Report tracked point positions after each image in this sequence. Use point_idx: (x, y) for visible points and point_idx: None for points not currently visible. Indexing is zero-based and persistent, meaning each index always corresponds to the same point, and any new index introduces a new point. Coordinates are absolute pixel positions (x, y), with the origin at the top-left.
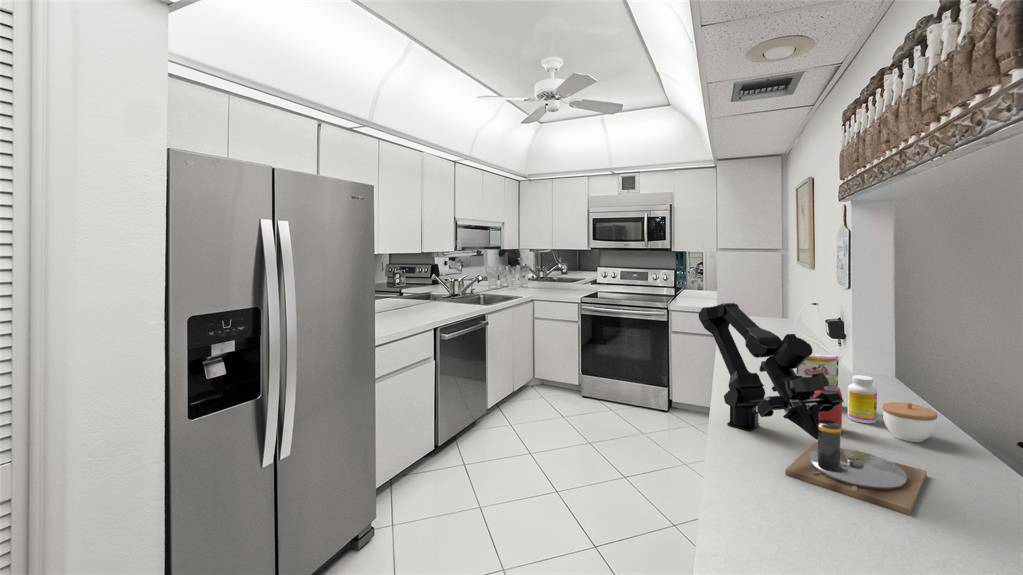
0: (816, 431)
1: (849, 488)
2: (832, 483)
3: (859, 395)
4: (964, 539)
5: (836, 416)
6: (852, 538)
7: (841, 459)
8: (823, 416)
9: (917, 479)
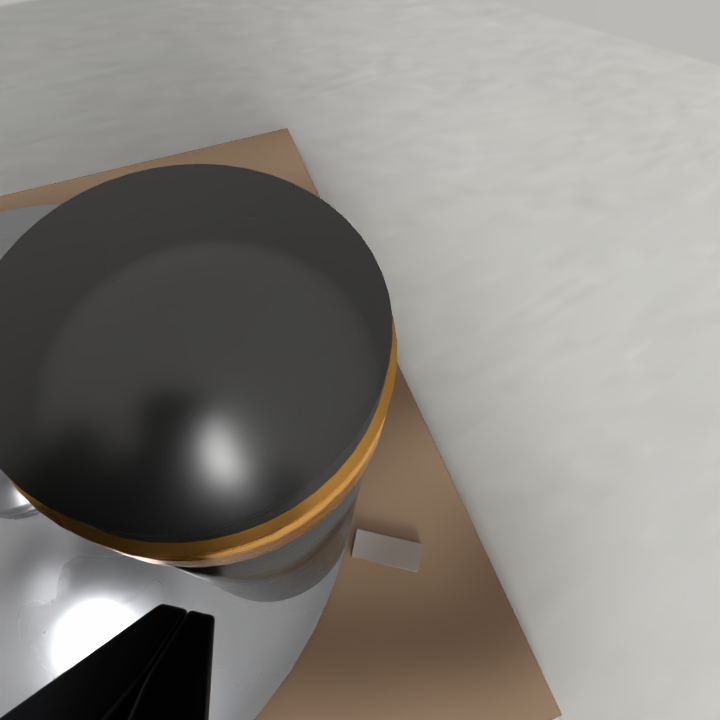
0: (171, 676)
1: None
2: (402, 410)
3: None
4: (285, 30)
5: None
6: (679, 156)
7: (12, 573)
8: None
9: None
